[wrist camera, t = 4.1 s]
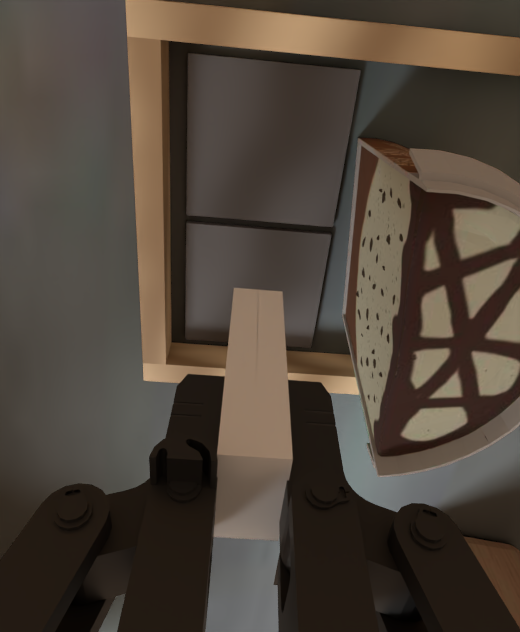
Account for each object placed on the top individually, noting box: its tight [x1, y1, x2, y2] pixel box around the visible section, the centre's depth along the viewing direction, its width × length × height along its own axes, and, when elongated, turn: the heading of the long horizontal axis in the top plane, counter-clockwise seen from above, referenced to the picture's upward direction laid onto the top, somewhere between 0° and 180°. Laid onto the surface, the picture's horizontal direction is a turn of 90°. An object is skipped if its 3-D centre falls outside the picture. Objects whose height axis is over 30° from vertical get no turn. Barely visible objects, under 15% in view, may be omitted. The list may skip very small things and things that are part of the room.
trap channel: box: [125, 0, 520, 395], centre depth 23 cm, size 30×17×2 cm, turn 85°
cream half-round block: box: [342, 137, 520, 477], centre depth 20 cm, size 12×6×10 cm, turn 1°
